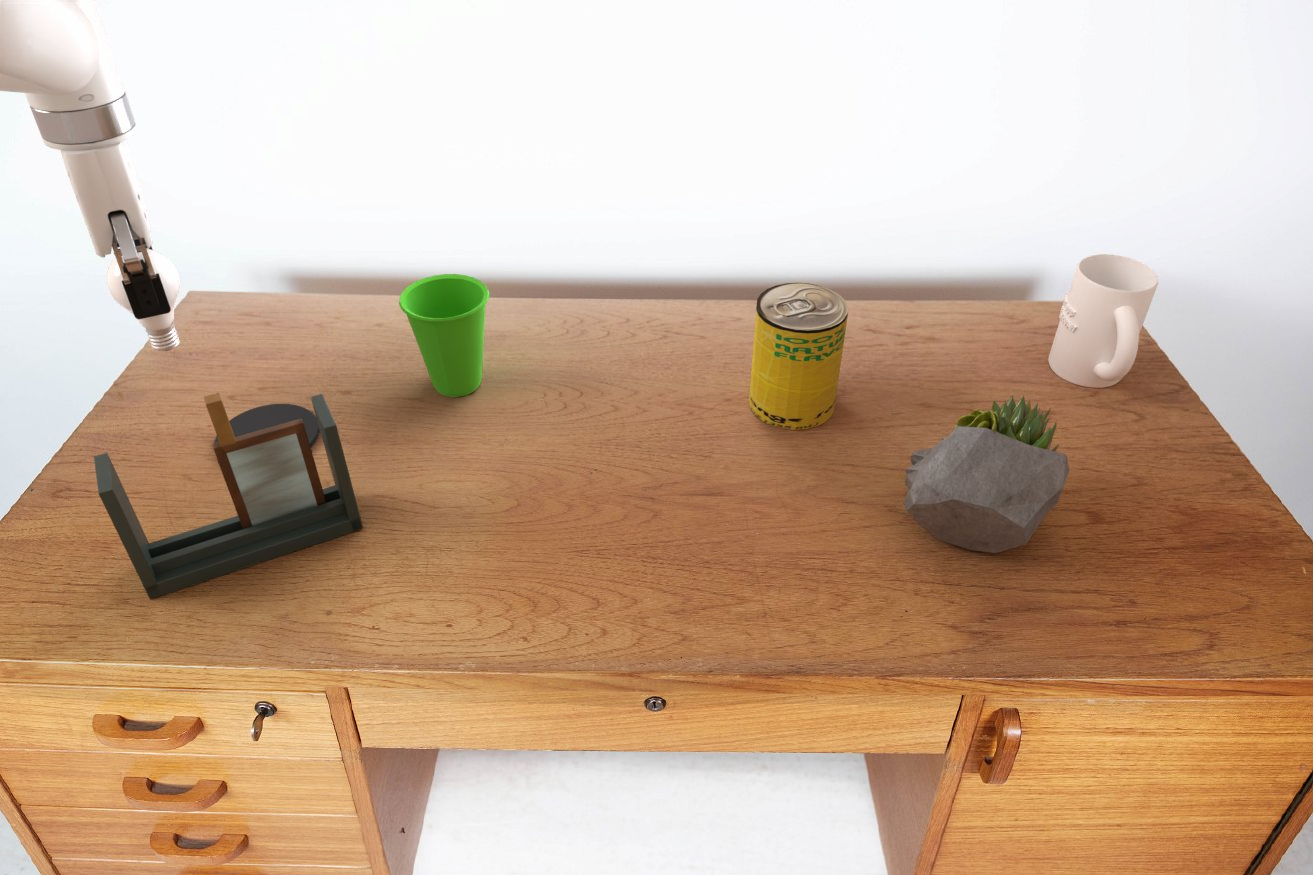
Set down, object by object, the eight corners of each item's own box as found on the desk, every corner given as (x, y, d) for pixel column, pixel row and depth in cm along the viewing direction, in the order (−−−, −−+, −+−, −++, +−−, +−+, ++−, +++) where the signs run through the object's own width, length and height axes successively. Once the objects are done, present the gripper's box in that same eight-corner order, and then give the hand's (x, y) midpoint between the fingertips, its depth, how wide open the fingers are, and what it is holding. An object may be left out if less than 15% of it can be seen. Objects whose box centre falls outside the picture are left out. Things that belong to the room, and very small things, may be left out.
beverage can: (851, 413, 101) (867, 314, 93) (781, 439, 98) (791, 339, 90) (800, 370, 107) (811, 274, 100) (732, 393, 104) (738, 296, 96)
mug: (1069, 410, 102) (1102, 312, 94) (1036, 347, 111) (1064, 253, 103) (1148, 411, 101) (1187, 313, 94) (1108, 347, 111) (1142, 254, 103)
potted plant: (867, 505, 85) (916, 382, 93) (964, 586, 89) (1004, 461, 96) (973, 473, 75) (1018, 338, 83) (1078, 566, 79) (1112, 428, 86)
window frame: (150, 599, 81) (98, 493, 73) (143, 561, 84) (93, 456, 77) (363, 528, 87) (336, 424, 80) (349, 495, 91) (322, 393, 83)
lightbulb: (154, 330, 102) (120, 235, 95) (211, 334, 101) (181, 239, 95) (121, 363, 97) (82, 265, 90) (181, 368, 96) (147, 269, 90)
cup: (507, 362, 108) (497, 275, 101) (488, 411, 101) (476, 321, 94) (429, 357, 109) (413, 271, 102) (405, 406, 102) (386, 316, 95)
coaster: (225, 482, 92) (223, 477, 92) (208, 425, 99) (207, 420, 99) (330, 450, 96) (329, 446, 96) (307, 398, 103) (306, 393, 102)
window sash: (246, 538, 84) (197, 406, 75) (243, 529, 85) (195, 398, 76) (329, 511, 87) (291, 381, 78) (326, 503, 88) (288, 373, 79)
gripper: (35, 96, 89) (101, 270, 100) (40, 160, 77) (115, 349, 88) (123, 84, 92) (178, 254, 103) (141, 144, 80) (202, 330, 91)
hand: (149, 297), depth 95 cm, fingers closed on lightbulb, 6 cm apart
